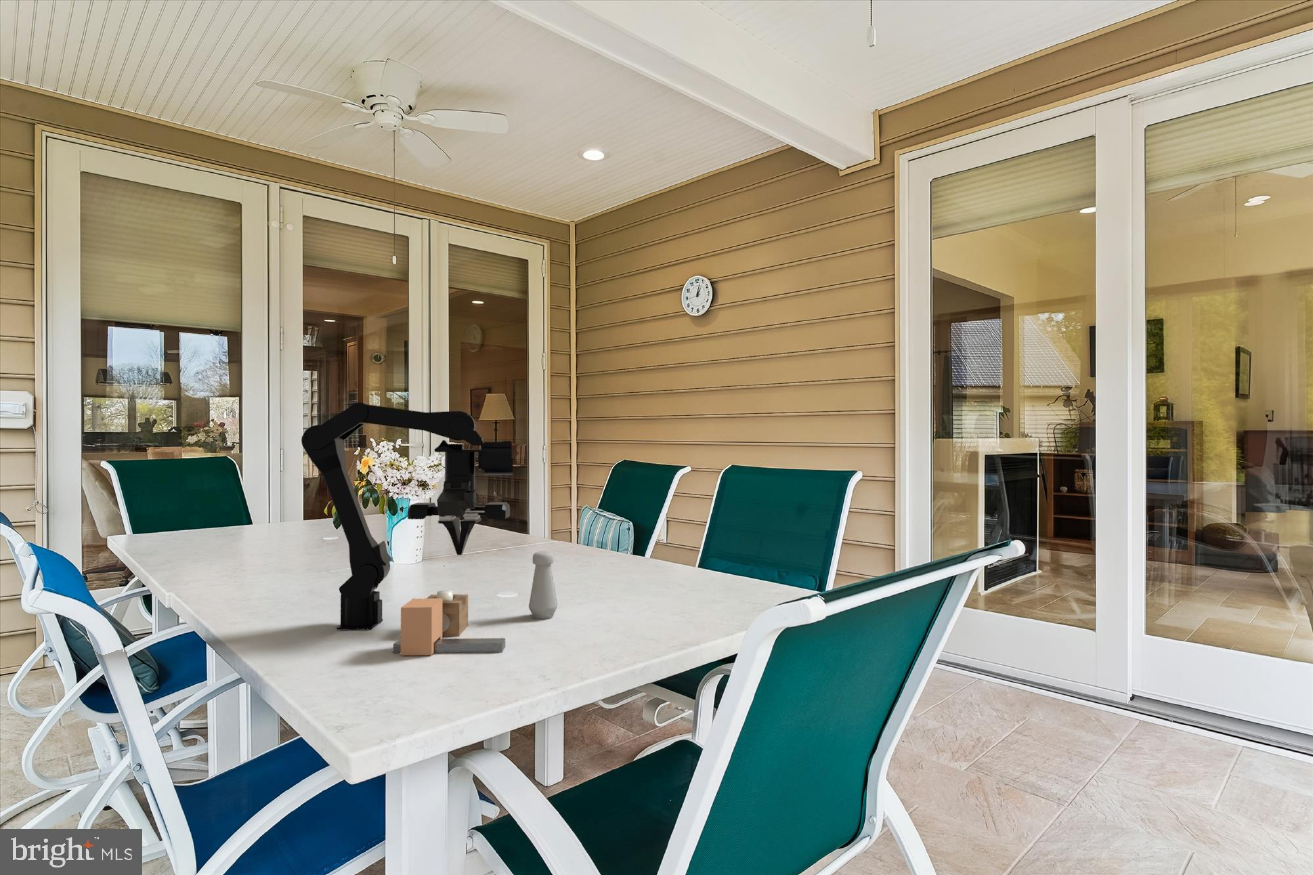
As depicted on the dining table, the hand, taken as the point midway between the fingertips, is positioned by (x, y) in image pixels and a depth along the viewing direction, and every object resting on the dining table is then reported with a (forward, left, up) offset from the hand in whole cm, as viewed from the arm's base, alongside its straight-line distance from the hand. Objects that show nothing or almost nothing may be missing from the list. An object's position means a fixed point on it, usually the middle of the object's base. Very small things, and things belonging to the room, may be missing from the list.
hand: (459, 554), depth 136 cm
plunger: (-1, -7, -9) cm, 11 cm away
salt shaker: (+16, +3, -13) cm, 21 cm away
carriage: (-2, -19, -13) cm, 23 cm away
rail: (+3, -19, -13) cm, 23 cm away
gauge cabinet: (-1, -7, -13) cm, 15 cm away
